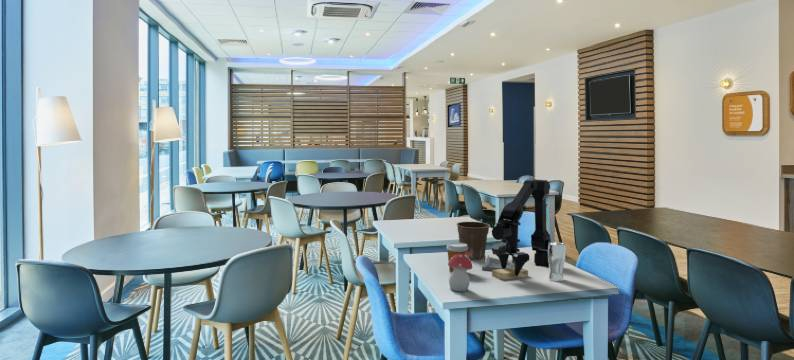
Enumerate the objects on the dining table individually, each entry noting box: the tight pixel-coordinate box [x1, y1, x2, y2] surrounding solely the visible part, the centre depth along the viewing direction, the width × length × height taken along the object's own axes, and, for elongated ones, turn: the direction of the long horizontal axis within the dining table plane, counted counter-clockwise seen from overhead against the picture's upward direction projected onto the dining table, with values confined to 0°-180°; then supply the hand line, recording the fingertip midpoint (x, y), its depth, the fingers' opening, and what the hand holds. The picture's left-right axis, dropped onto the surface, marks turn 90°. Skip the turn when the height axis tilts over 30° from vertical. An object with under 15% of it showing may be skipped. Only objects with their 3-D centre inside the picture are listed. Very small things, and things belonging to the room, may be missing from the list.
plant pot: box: [456, 221, 491, 260], centre depth 237 cm, size 16×16×16 cm
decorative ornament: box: [447, 252, 473, 293], centre depth 184 cm, size 9×7×15 cm
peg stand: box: [481, 254, 514, 272], centre depth 215 cm, size 15×7×6 cm, turn 76°
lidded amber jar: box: [446, 242, 468, 273], centre depth 210 cm, size 10×10×12 cm
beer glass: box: [547, 241, 567, 282], centre depth 199 cm, size 7×7×15 cm
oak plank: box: [491, 267, 529, 281], centre depth 204 cm, size 14×6×3 cm, turn 113°
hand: (509, 273), depth 204 cm, fingers open, 9 cm apart
